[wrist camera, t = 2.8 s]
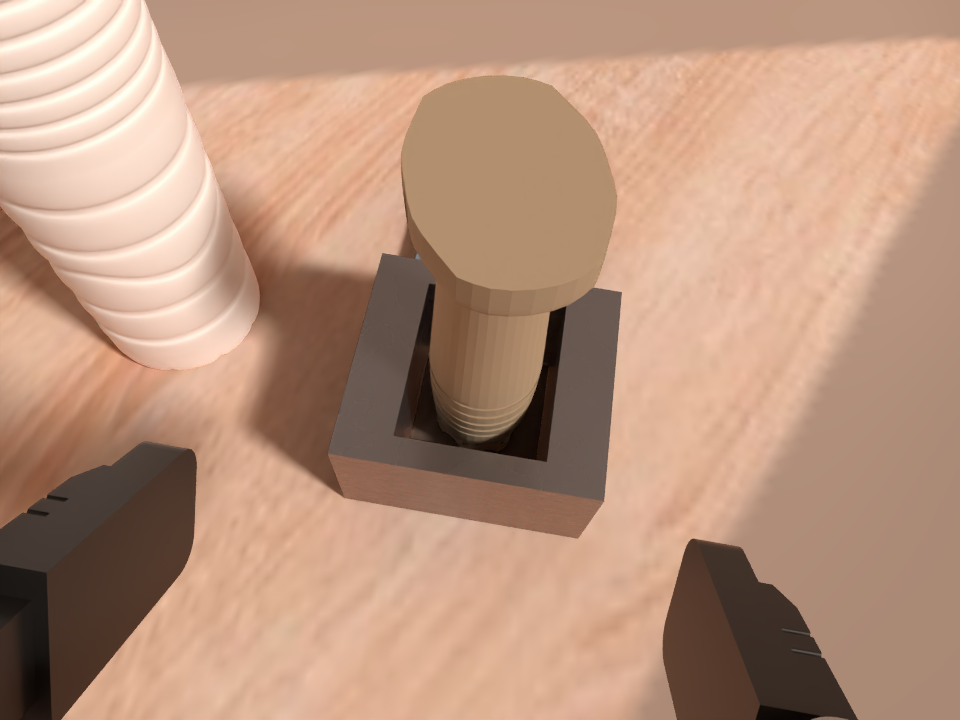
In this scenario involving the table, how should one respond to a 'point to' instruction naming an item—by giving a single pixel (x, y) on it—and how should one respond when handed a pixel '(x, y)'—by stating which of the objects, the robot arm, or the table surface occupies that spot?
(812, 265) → the table surface
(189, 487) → the robot arm
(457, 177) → the handle
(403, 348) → the socket block
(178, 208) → the water bottle
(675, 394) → the table surface
